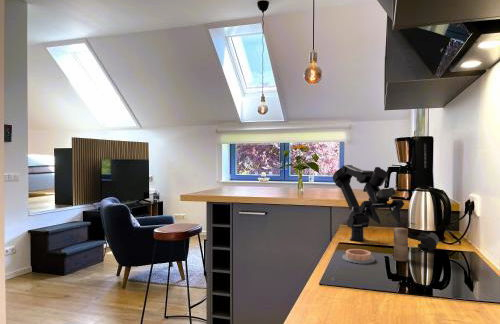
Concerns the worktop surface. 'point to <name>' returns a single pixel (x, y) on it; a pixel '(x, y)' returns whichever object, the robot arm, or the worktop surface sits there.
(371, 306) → the worktop surface
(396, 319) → the worktop surface
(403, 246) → the walnut peg
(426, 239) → the end cap
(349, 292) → the worktop surface
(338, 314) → the worktop surface
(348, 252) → the collar
